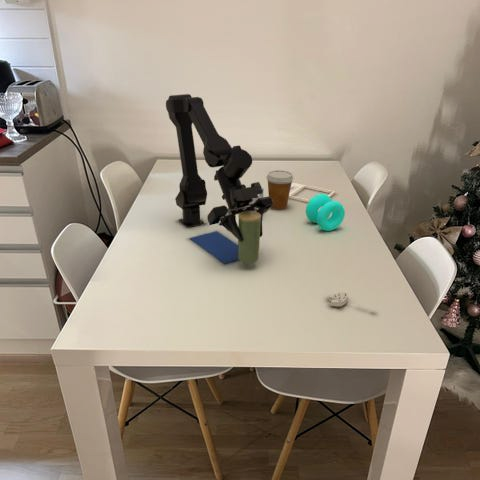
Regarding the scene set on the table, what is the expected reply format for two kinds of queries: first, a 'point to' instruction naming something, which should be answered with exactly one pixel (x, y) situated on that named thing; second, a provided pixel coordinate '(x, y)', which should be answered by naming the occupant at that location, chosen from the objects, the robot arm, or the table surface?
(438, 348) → the table surface
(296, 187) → the photo frame
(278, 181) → the disposable coffee cup
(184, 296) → the table surface
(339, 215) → the donuts
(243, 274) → the table surface
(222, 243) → the blue mat
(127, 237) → the table surface
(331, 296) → the game controller
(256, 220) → the tea tin
